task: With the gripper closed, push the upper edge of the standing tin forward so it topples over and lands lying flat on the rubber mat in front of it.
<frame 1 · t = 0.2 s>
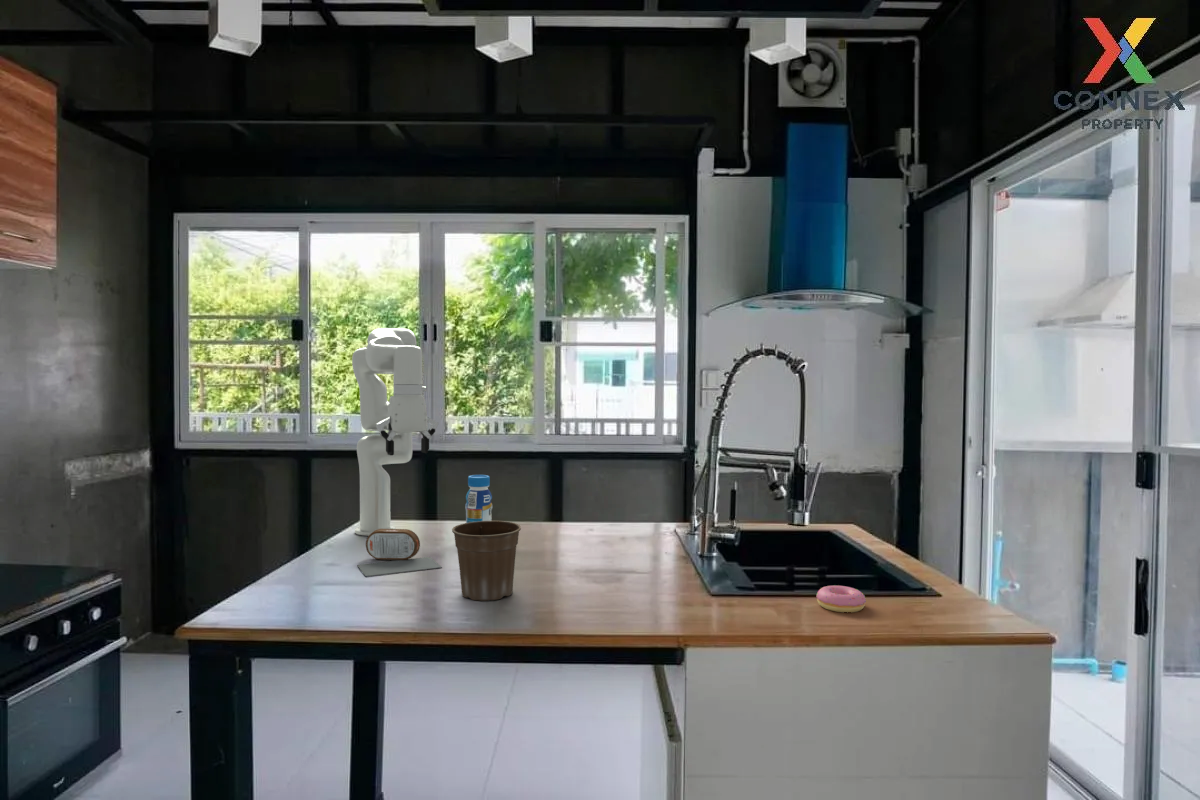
hand: (407, 453, 205), 30 cm above the worktop, tool pointing down, fingers open, 9 cm apart
tin: (392, 560, 211), on the worktop, touching mat
beverage bottle: (478, 539, 237), on the worktop
plant pot: (486, 594, 181), on the worktop
mat: (399, 566, 204), on the worktop
doughnut: (840, 608, 174), on the worktop
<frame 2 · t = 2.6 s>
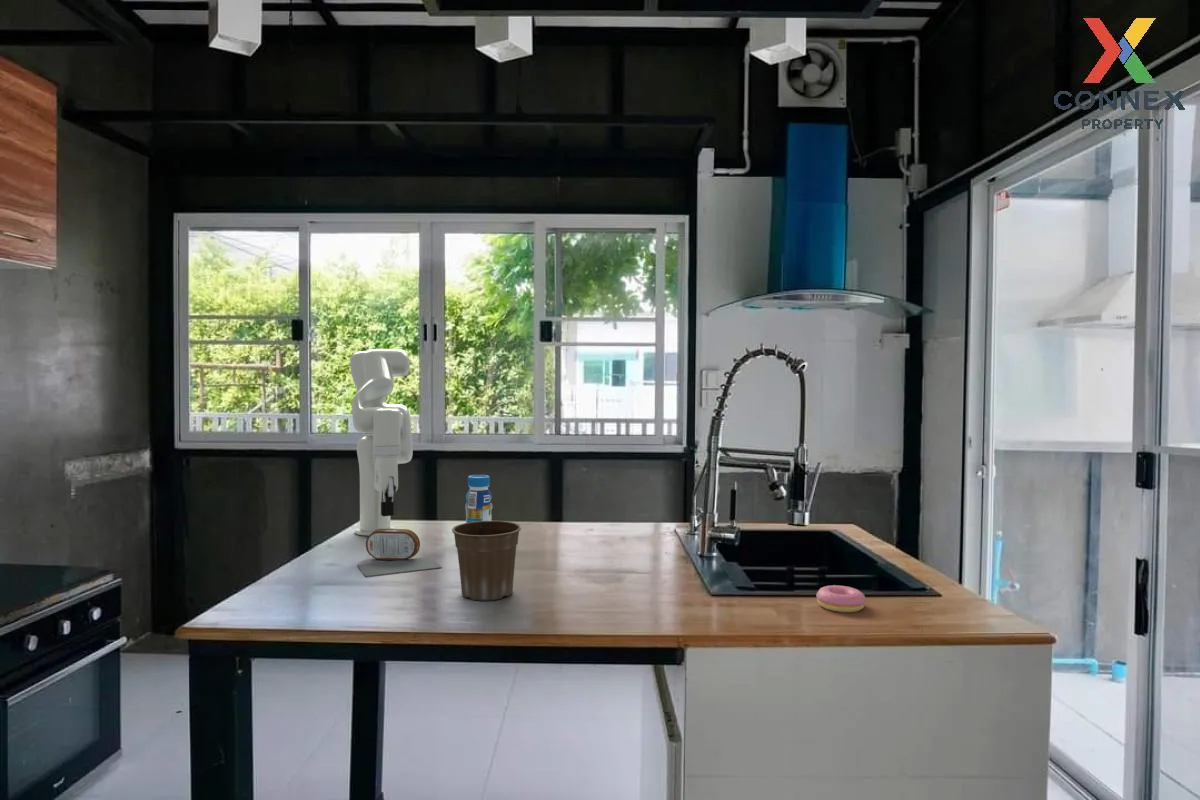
hand: (387, 515, 216), 11 cm above the worktop, tool pointing down, fingers closed
nothing on the worktop moved.
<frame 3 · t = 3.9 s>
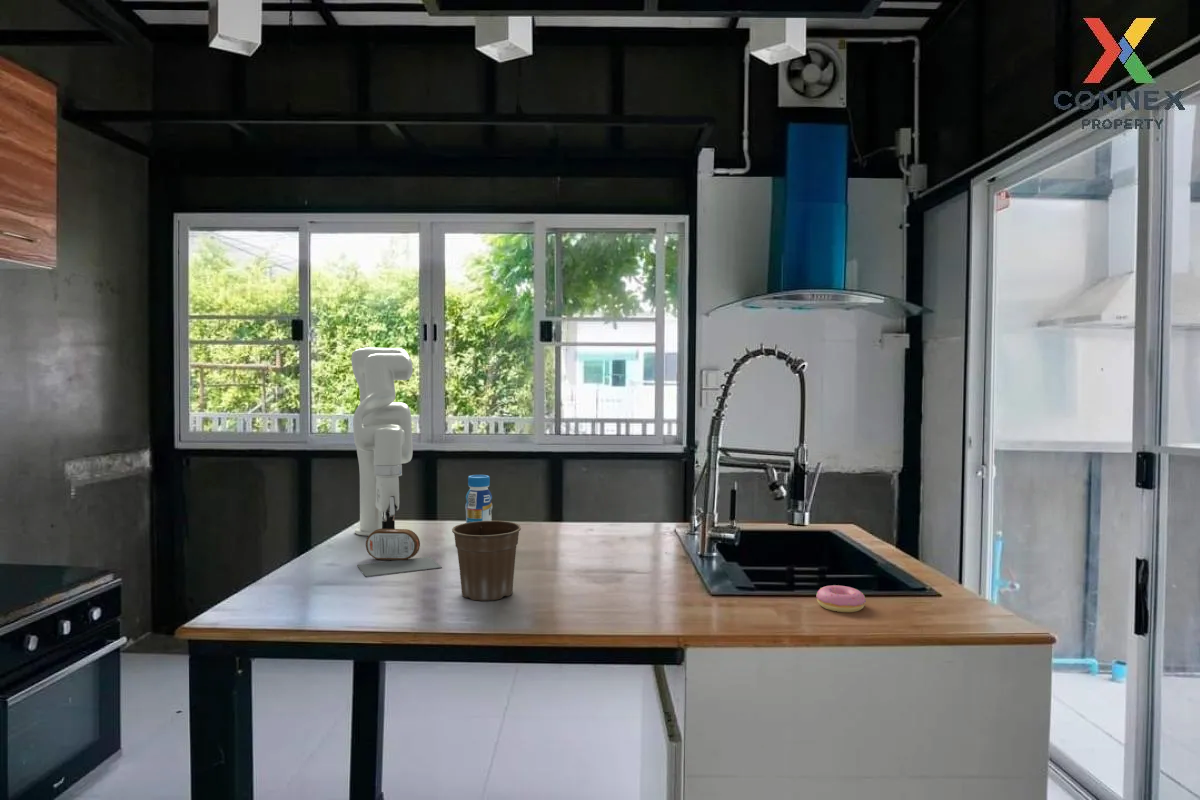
hand: (388, 534, 215), 6 cm above the worktop, tool pointing down, fingers closed
nothing on the worktop moved.
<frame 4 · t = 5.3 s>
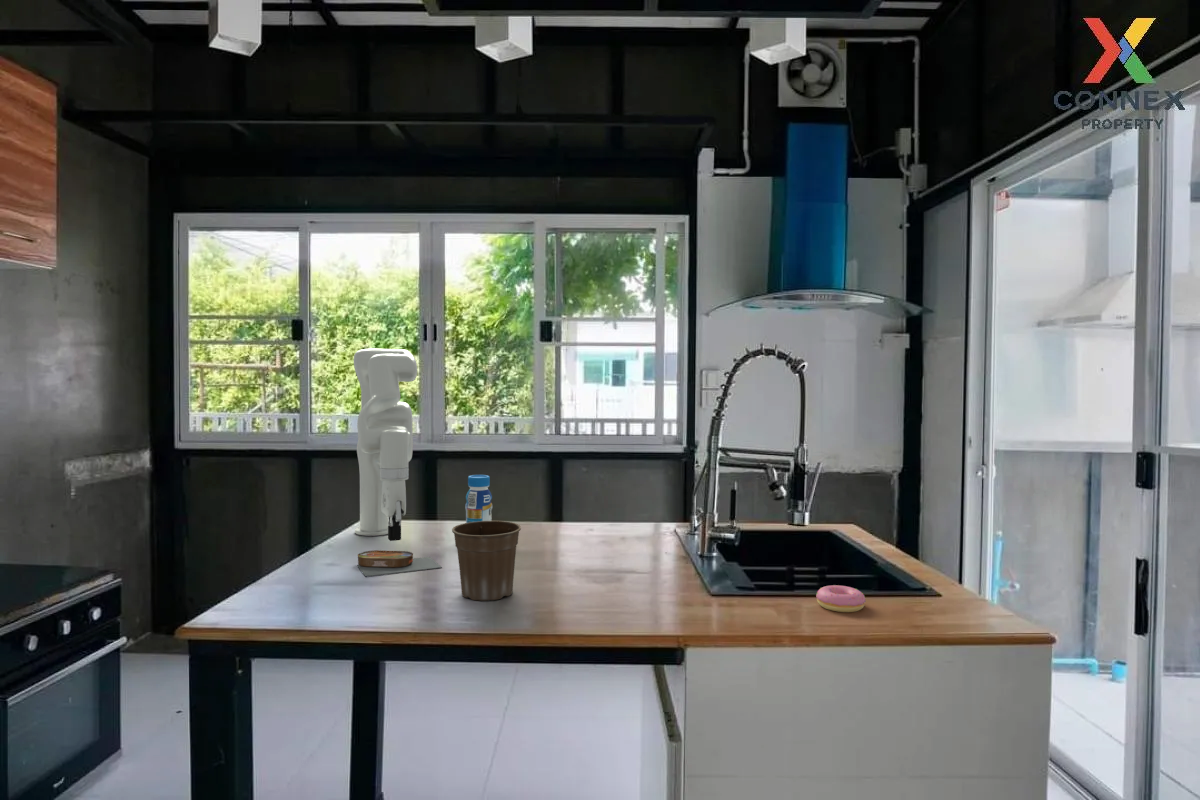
hand: (394, 539, 208), 6 cm above the worktop, tool pointing down, fingers closed
tin: (391, 556, 210), point 1 cm above the worktop, touching mat
everything else where it was.
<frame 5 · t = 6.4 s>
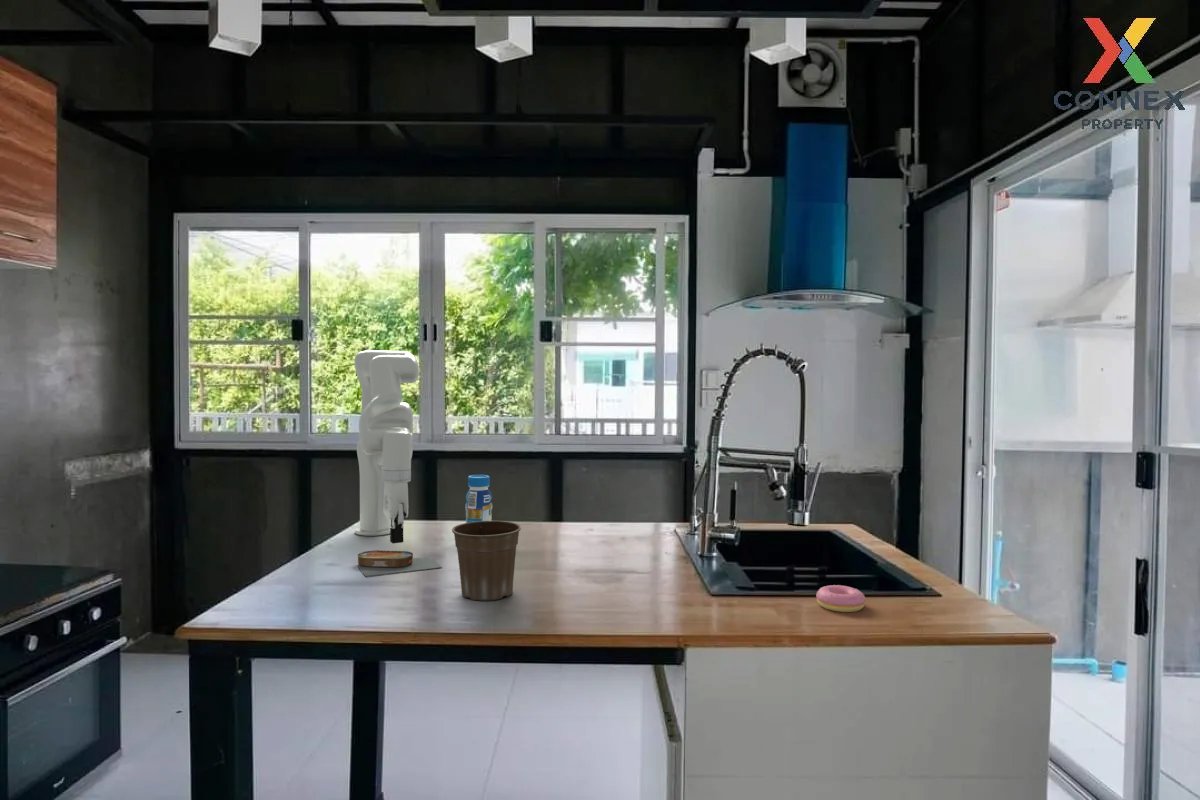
hand: (396, 542, 206), 6 cm above the worktop, tool pointing down, fingers closed
nothing on the worktop moved.
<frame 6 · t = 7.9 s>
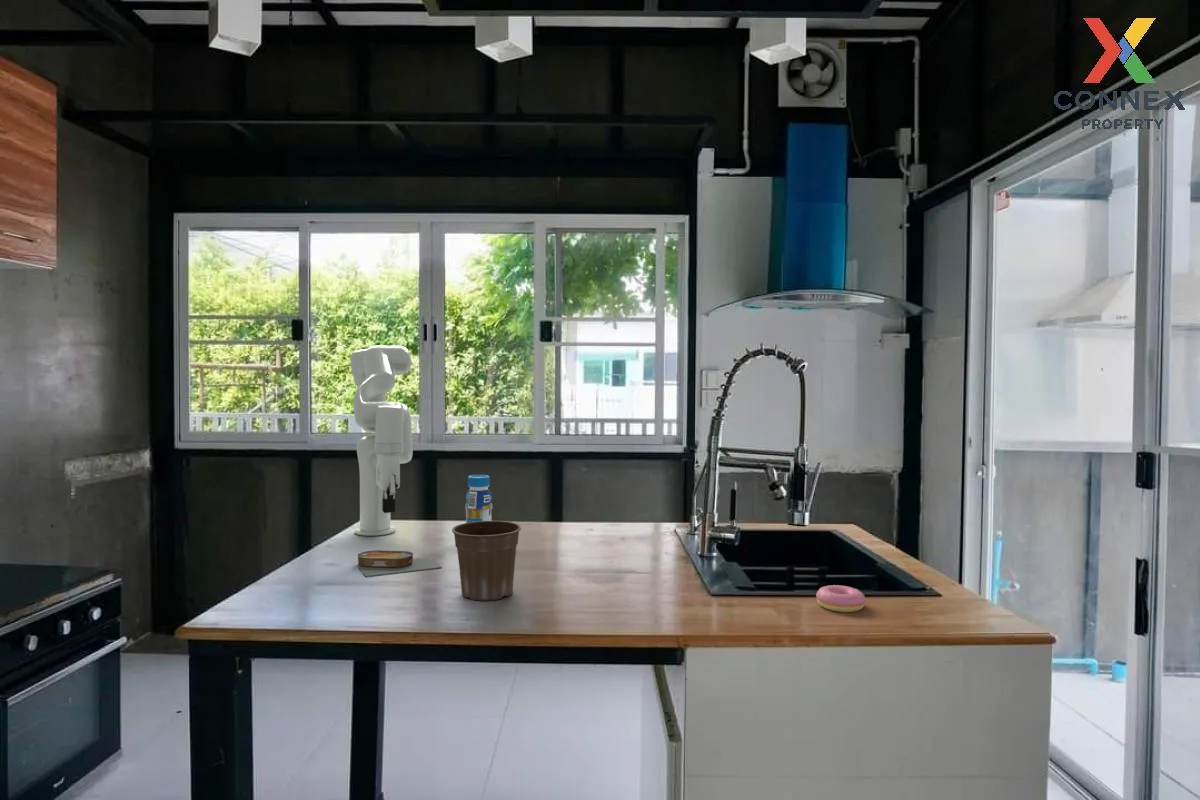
hand: (388, 511, 215), 13 cm above the worktop, tool pointing down, fingers closed
nothing on the worktop moved.
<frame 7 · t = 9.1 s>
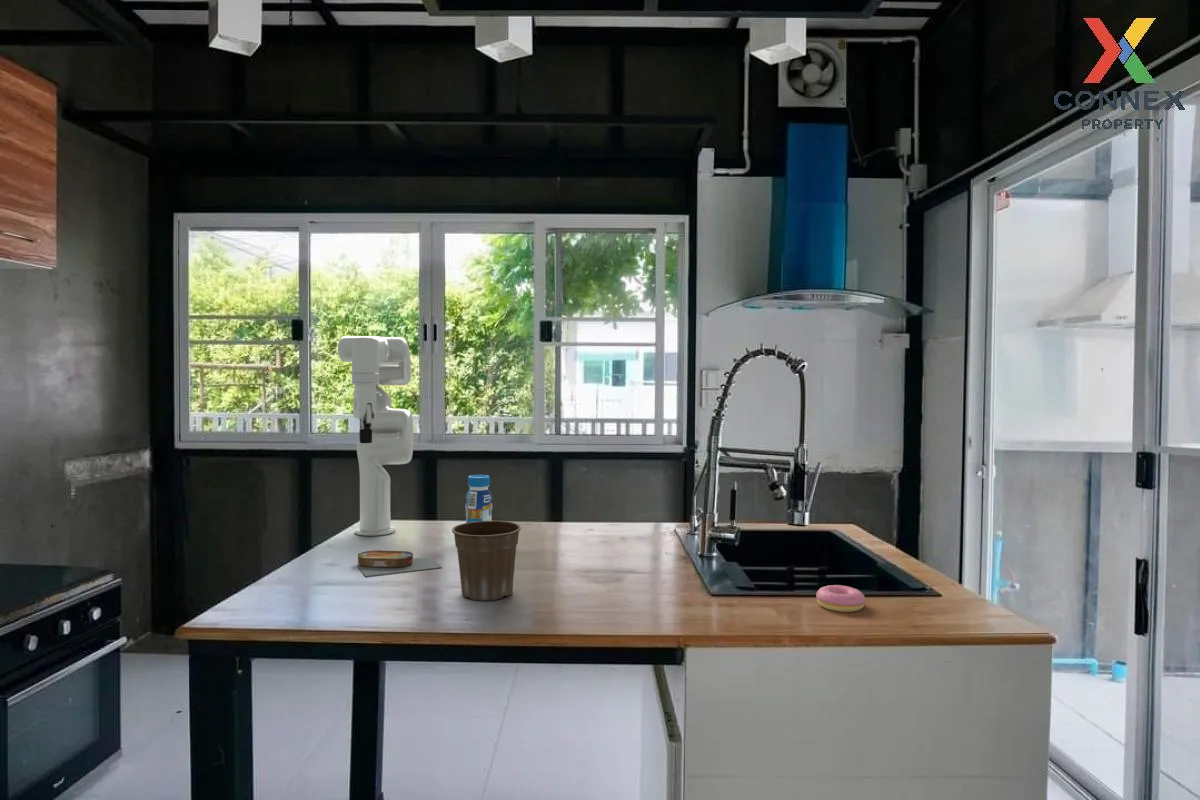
hand: (365, 442, 217), 32 cm above the worktop, tool pointing down, fingers closed
nothing on the worktop moved.
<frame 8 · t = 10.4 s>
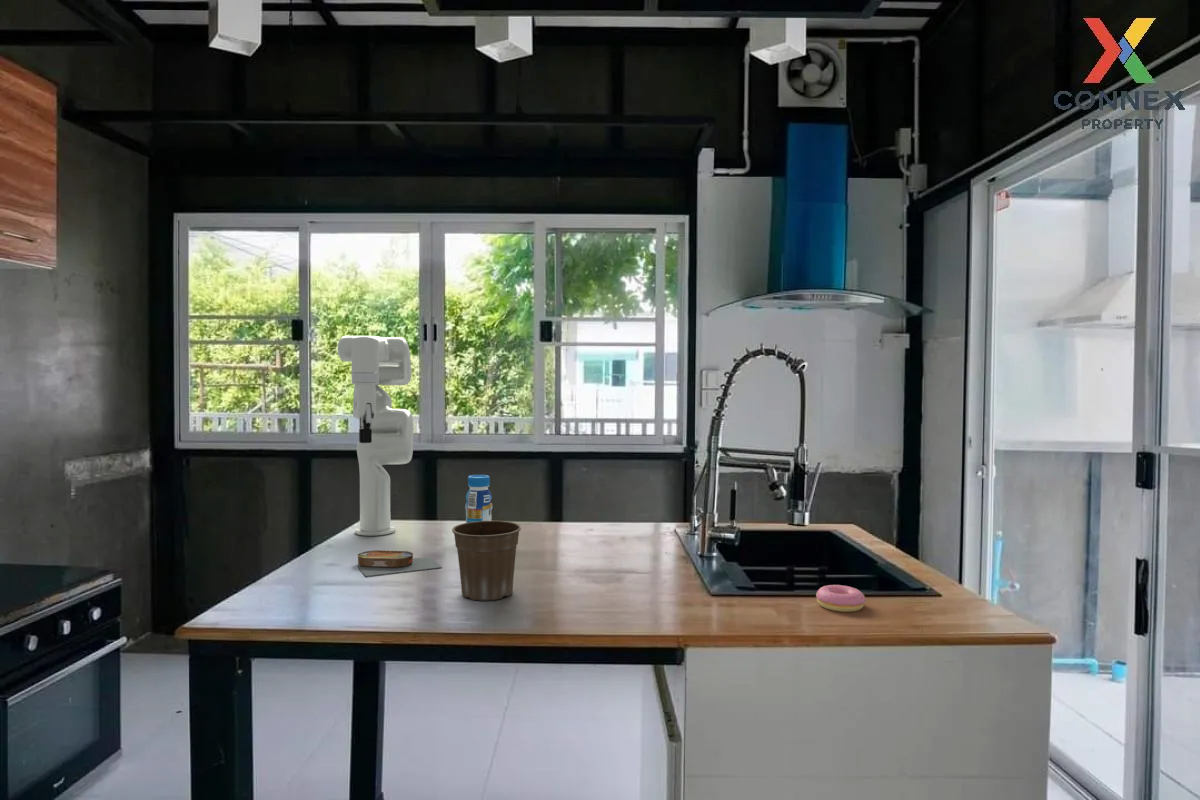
hand: (365, 442, 217), 32 cm above the worktop, tool pointing down, fingers closed
nothing on the worktop moved.
at the end: tin tilted 86°; tin touching mat; the gripper is holding nothing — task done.
